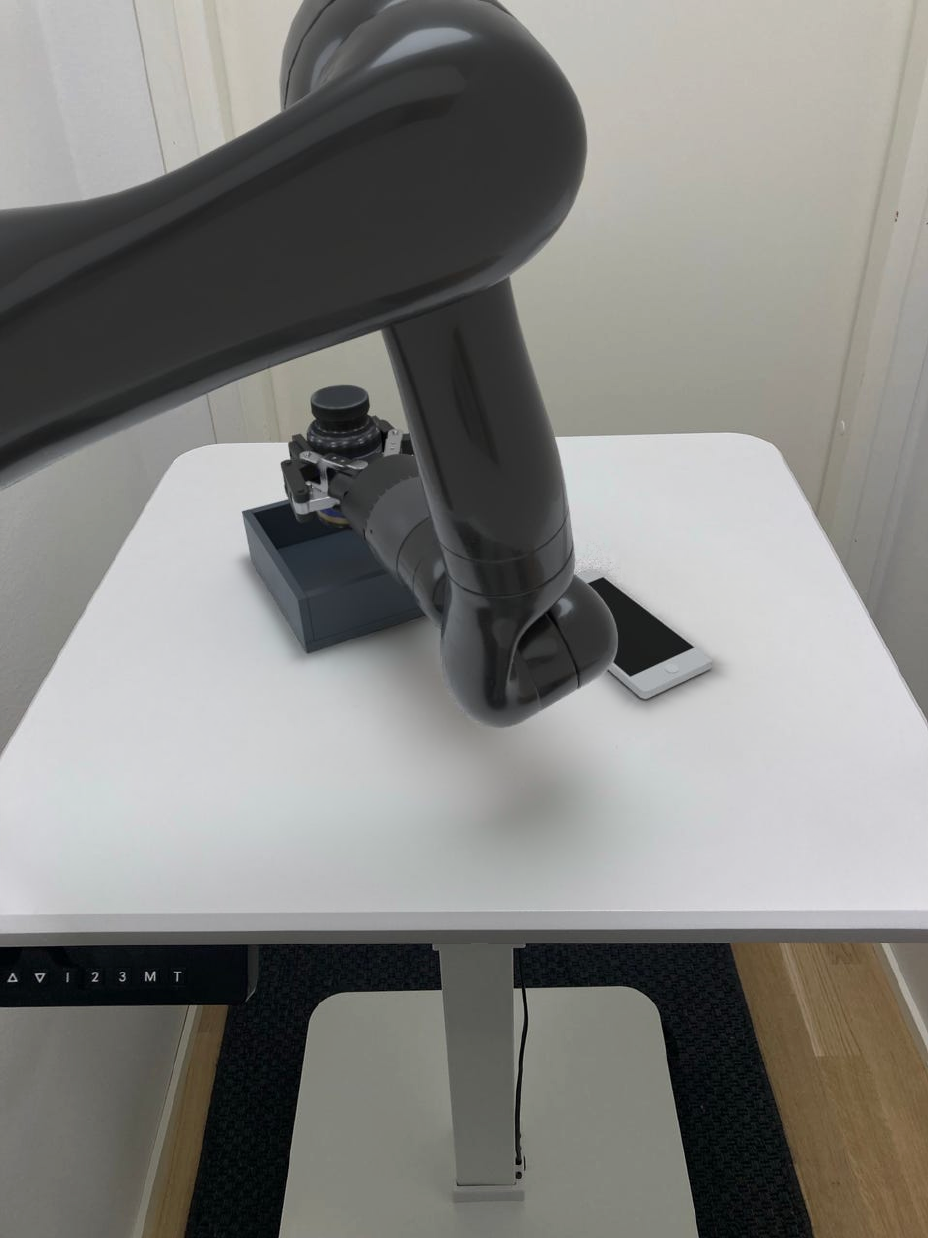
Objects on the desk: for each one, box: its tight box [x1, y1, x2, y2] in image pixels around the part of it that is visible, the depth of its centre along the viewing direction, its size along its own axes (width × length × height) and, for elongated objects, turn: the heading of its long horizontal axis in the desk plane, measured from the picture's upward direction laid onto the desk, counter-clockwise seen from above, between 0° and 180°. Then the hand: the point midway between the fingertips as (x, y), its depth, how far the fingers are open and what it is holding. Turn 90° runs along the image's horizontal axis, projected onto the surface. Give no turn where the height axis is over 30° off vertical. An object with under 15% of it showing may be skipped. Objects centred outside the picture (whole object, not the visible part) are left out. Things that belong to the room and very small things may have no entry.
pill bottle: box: [306, 384, 383, 530], centre depth 82 cm, size 6×6×11 cm
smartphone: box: [576, 568, 713, 700], centre depth 81 cm, size 7×16×1 cm, turn 32°
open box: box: [241, 498, 427, 654], centre depth 88 cm, size 16×16×6 cm
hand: (334, 435), depth 83 cm, fingers closed on pill bottle, 6 cm apart
